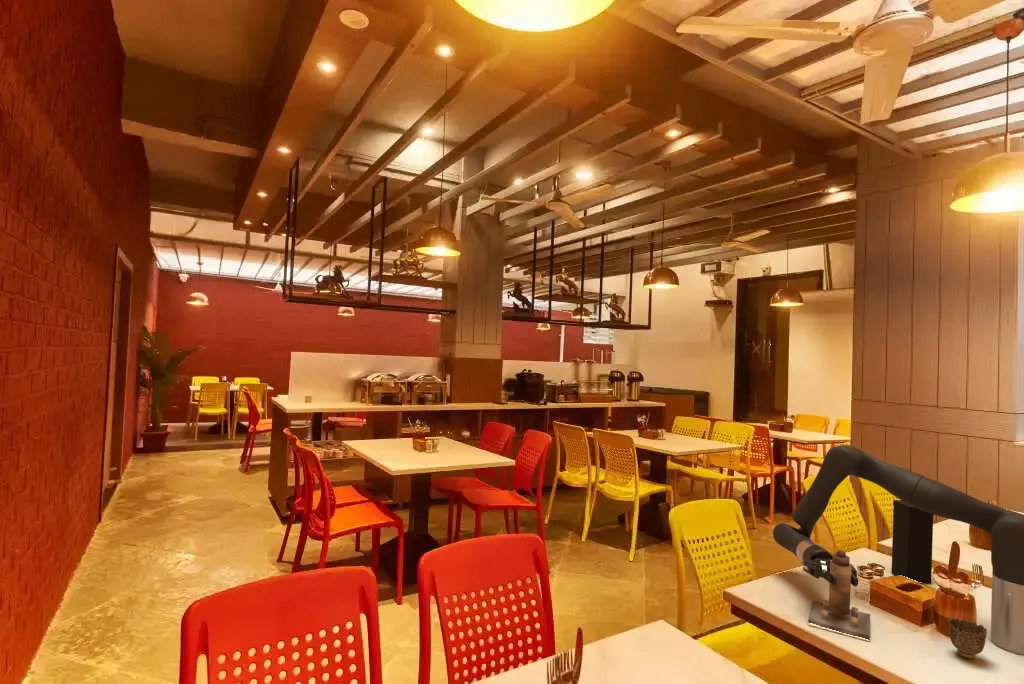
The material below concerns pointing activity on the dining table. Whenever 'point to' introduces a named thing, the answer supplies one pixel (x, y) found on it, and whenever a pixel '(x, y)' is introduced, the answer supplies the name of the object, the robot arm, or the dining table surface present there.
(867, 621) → the board
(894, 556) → the tissue box
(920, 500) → the robot arm
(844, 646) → the dining table surface
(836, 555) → the pepper mill
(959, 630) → the cup
